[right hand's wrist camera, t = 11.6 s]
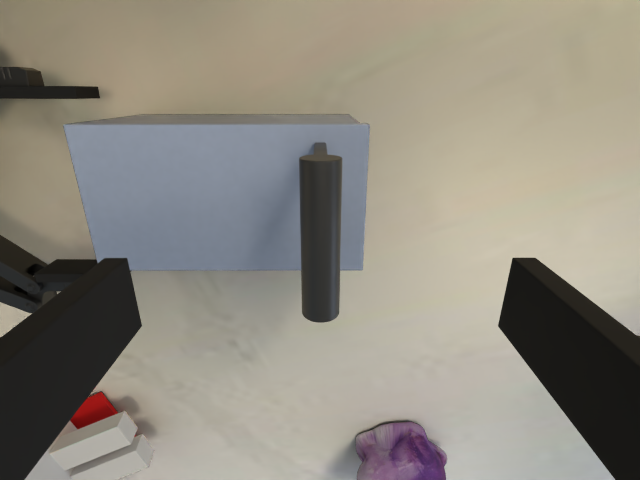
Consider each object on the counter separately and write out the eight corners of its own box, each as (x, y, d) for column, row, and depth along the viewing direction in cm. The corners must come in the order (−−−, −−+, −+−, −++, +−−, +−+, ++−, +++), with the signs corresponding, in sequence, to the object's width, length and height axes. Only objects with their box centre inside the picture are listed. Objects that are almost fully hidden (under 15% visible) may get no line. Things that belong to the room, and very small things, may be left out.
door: (368, 123, 22) (393, 139, 15) (361, 265, 26) (379, 337, 18) (71, 123, 22) (-58, 139, 15) (105, 265, 26) (15, 337, 18)
